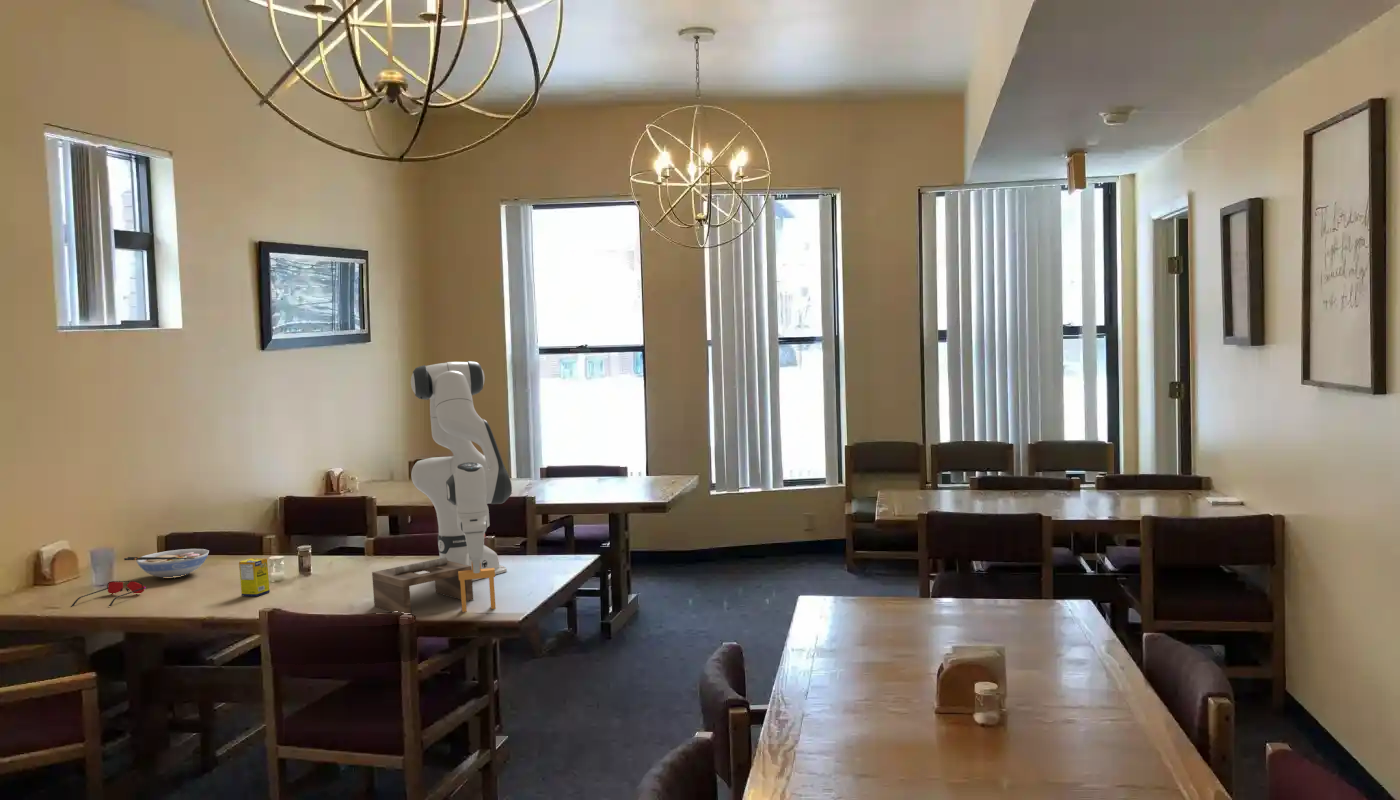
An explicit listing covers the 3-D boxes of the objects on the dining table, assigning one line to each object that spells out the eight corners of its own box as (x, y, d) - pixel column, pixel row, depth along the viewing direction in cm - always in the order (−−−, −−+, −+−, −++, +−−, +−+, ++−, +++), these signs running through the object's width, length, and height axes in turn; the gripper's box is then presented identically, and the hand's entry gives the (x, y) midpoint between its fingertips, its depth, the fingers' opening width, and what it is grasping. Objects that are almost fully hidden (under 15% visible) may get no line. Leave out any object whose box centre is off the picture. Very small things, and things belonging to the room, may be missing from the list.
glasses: (147, 595, 351) (145, 579, 351) (109, 608, 335) (107, 592, 334) (109, 595, 354) (108, 580, 354) (70, 608, 338) (68, 592, 337)
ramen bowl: (227, 568, 386) (225, 545, 385) (186, 584, 363) (184, 559, 363) (163, 569, 390) (161, 546, 389) (119, 584, 368) (117, 560, 367)
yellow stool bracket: (460, 609, 310) (457, 562, 309) (496, 606, 313) (493, 559, 312) (460, 612, 307) (457, 564, 307) (497, 608, 310) (494, 561, 309)
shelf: (441, 591, 334) (439, 552, 334) (473, 599, 321) (470, 559, 321) (374, 606, 319) (371, 565, 319) (404, 615, 306) (401, 573, 306)
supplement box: (270, 592, 345) (267, 557, 344) (256, 597, 339) (254, 562, 338) (254, 591, 347) (252, 557, 346) (241, 596, 341) (238, 561, 340)
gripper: (461, 516, 318) (464, 563, 319) (462, 527, 298) (465, 578, 299) (483, 514, 319) (486, 561, 320) (486, 525, 299) (489, 576, 300)
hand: (476, 569), depth 309 cm, fingers open, 7 cm apart
